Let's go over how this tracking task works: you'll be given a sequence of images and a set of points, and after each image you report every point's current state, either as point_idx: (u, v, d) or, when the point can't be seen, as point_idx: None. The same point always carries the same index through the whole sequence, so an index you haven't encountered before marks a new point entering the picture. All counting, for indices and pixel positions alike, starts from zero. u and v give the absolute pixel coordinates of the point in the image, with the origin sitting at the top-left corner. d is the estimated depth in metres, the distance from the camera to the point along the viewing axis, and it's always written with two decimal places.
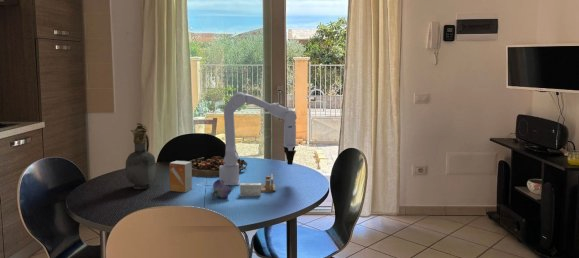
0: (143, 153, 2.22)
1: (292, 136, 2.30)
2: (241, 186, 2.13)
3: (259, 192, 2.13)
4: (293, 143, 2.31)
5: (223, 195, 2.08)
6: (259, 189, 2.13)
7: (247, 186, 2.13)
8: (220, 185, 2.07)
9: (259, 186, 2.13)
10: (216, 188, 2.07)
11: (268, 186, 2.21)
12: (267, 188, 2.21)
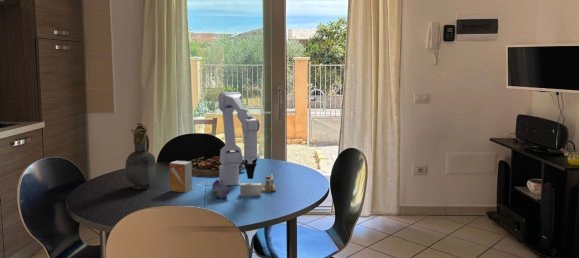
0: (143, 153, 2.22)
1: (253, 148, 2.10)
2: (241, 186, 2.13)
3: (259, 192, 2.13)
4: (254, 155, 2.11)
5: (222, 195, 2.07)
6: (259, 189, 2.13)
7: (247, 186, 2.13)
8: (219, 185, 2.07)
9: (259, 186, 2.13)
10: (215, 188, 2.06)
11: (268, 186, 2.21)
12: (267, 188, 2.21)
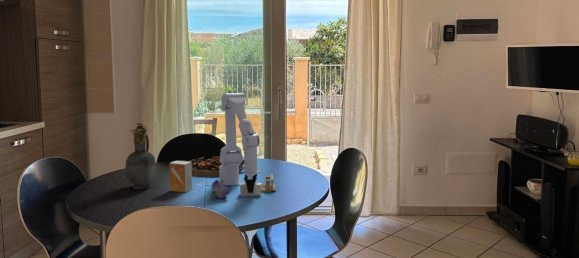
0: (143, 153, 2.22)
1: (253, 163, 2.11)
2: (241, 186, 2.13)
3: (259, 192, 2.13)
4: (254, 170, 2.12)
5: (221, 195, 2.07)
6: (259, 189, 2.13)
7: None
8: (218, 185, 2.06)
9: (259, 186, 2.13)
10: (214, 188, 2.06)
11: (268, 186, 2.21)
12: (267, 188, 2.21)
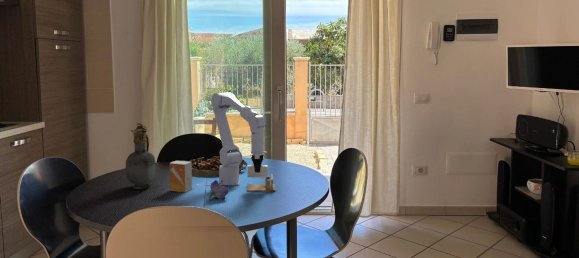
0: (143, 153, 2.22)
1: (260, 143, 2.17)
2: (248, 167, 2.19)
3: (266, 173, 2.20)
4: (261, 151, 2.18)
5: (220, 195, 2.07)
6: (265, 171, 2.20)
7: None
8: (217, 186, 2.06)
9: (266, 167, 2.20)
10: (213, 189, 2.06)
11: (268, 186, 2.21)
12: (267, 188, 2.21)
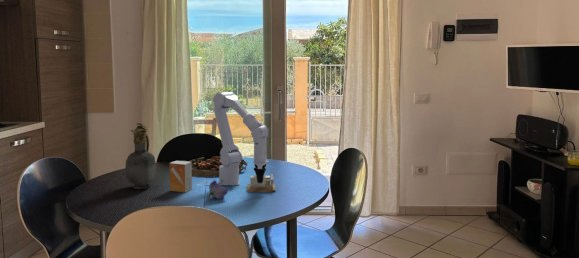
0: (143, 153, 2.22)
1: (262, 153, 2.20)
2: (251, 178, 2.23)
3: None
4: (263, 161, 2.21)
5: (219, 196, 2.06)
6: None
7: None
8: (216, 186, 2.05)
9: (268, 178, 2.23)
10: (212, 189, 2.05)
11: (268, 186, 2.21)
12: (267, 188, 2.21)
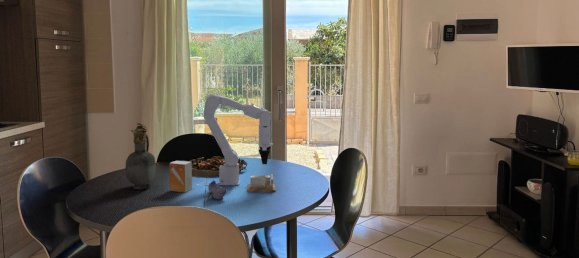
0: (143, 153, 2.22)
1: (266, 136, 2.31)
2: (251, 178, 2.23)
3: None
4: (268, 143, 2.32)
5: (218, 196, 2.06)
6: None
7: (257, 178, 2.23)
8: (215, 186, 2.05)
9: (268, 178, 2.23)
10: (211, 189, 2.05)
11: (268, 186, 2.21)
12: (267, 188, 2.21)
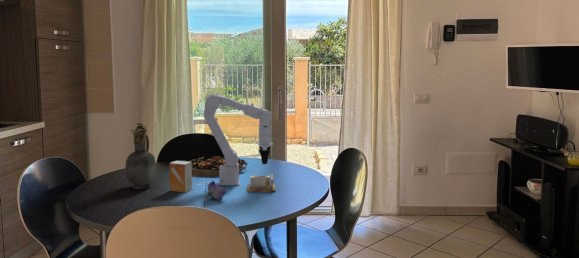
0: (143, 153, 2.22)
1: (267, 136, 2.32)
2: (251, 178, 2.23)
3: None
4: (268, 143, 2.32)
5: (217, 196, 2.05)
6: None
7: (257, 178, 2.23)
8: (215, 186, 2.05)
9: (268, 178, 2.23)
10: (211, 190, 2.04)
11: (268, 186, 2.21)
12: (267, 188, 2.21)
